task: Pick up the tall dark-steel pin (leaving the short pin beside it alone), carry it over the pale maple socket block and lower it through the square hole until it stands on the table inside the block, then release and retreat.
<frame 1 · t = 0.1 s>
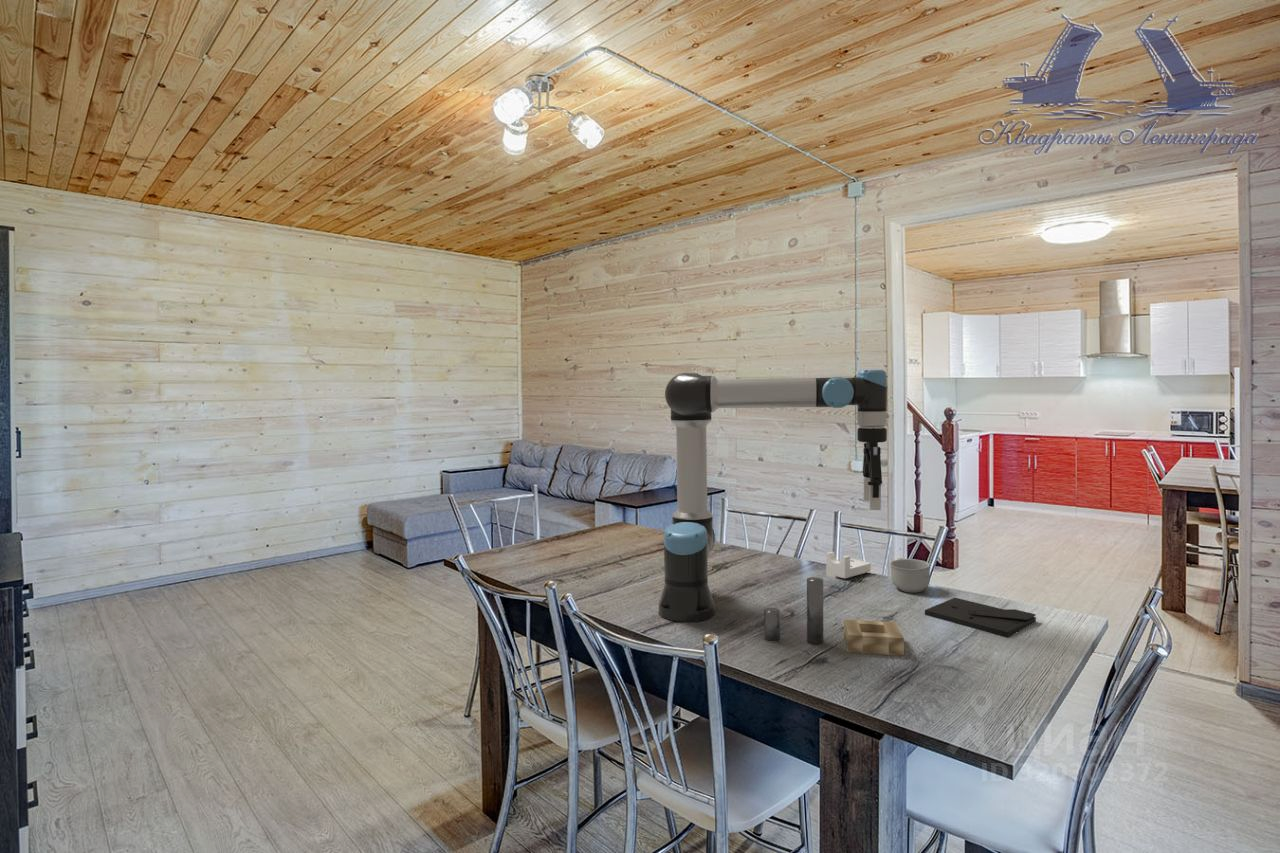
hand: (871, 505, 179), 28 cm above the table, fingers open, 13 cm apart
bracket: (848, 575, 211), on the table
picture frame: (979, 622, 170), on the table
long pin: (815, 641, 157), on the table
teacup: (908, 588, 196), on the table
short pin: (772, 638, 159), on the table
socket block: (872, 645, 154), on the table
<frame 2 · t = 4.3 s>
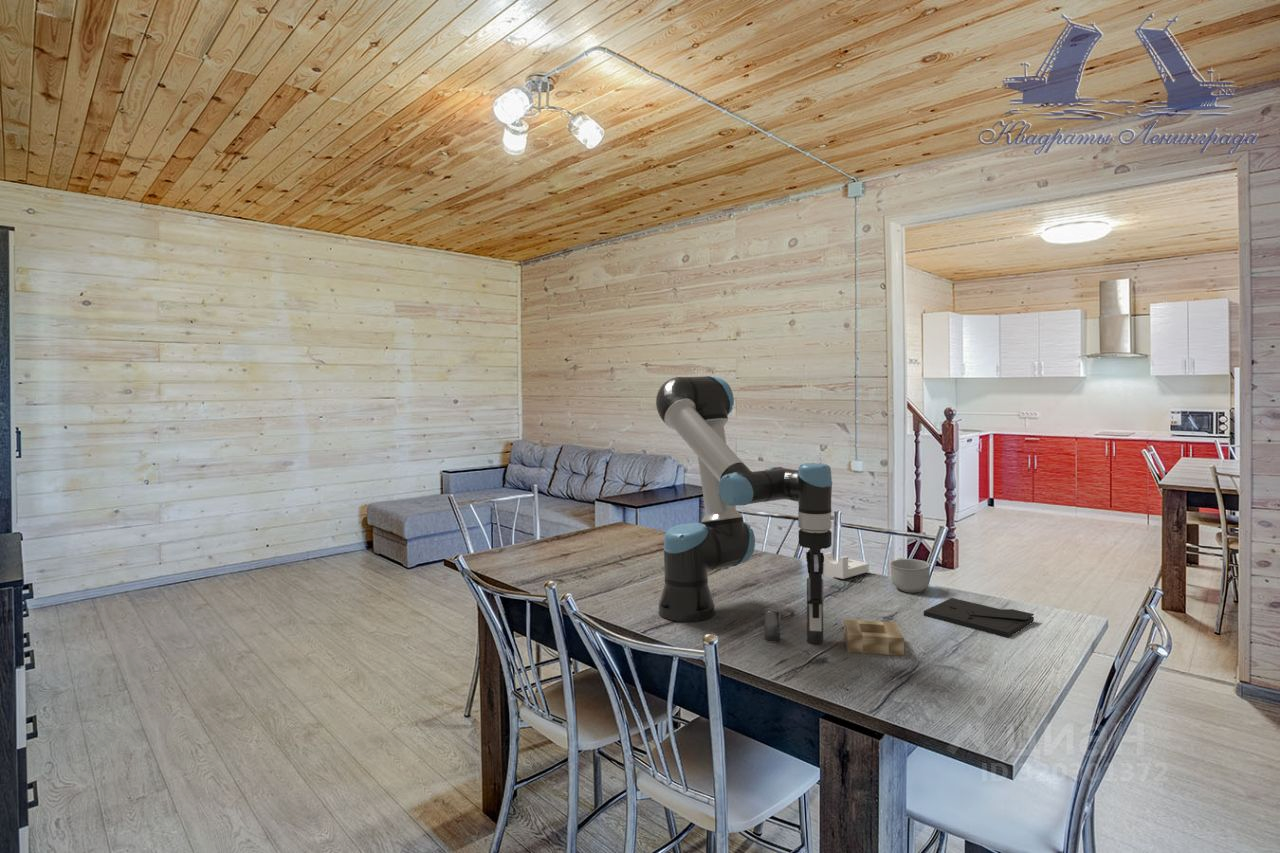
hand: (815, 626, 157), 4 cm above the table, fingers closed on long pin, 4 cm apart
long pin: (815, 641, 157), on the table, touching gripper
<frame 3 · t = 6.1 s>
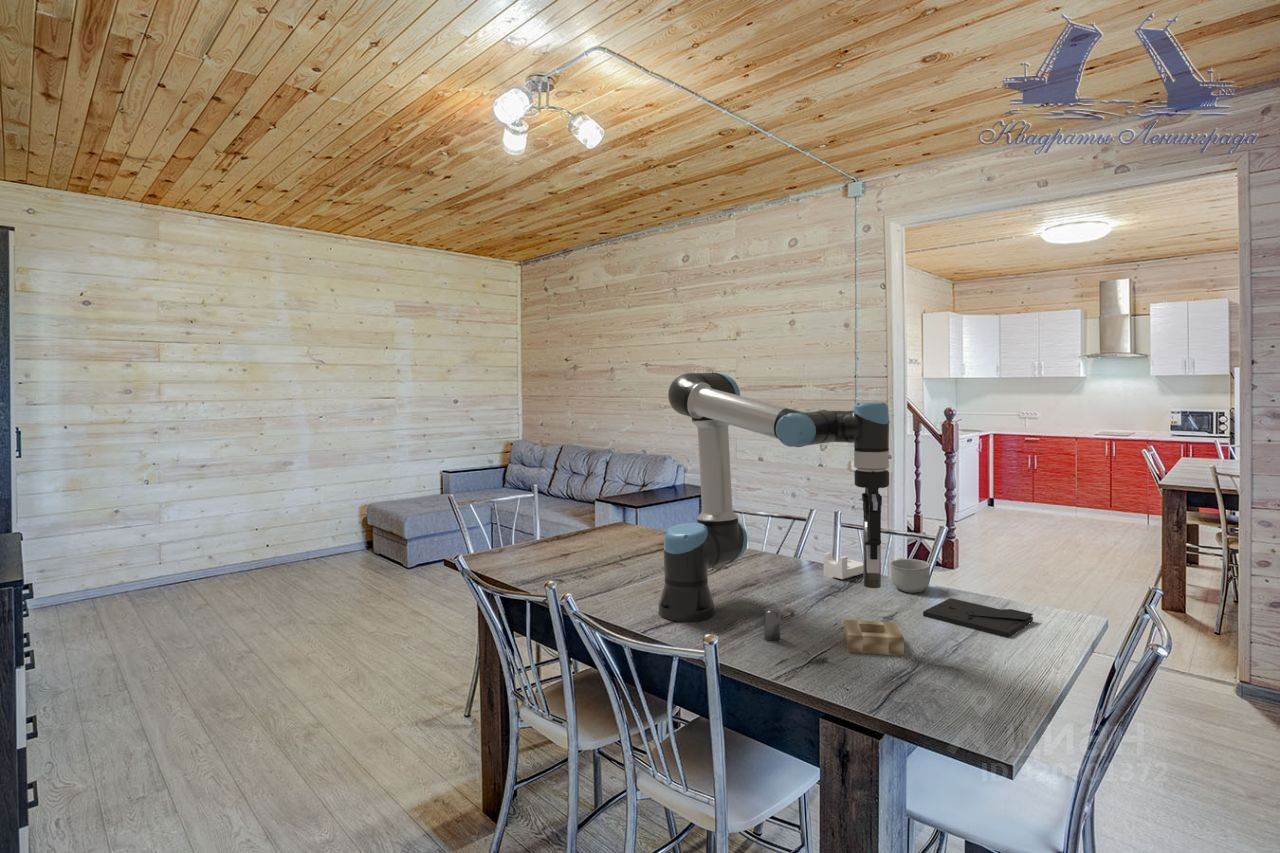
hand: (872, 569, 153), 18 cm above the table, fingers closed on long pin, 4 cm apart
long pin: (872, 585, 153), point 14 cm above the table, touching gripper
when the fingers open (5 cm above the table, at t = 8.1 s): long pin drops 1 cm, resting in socket block.
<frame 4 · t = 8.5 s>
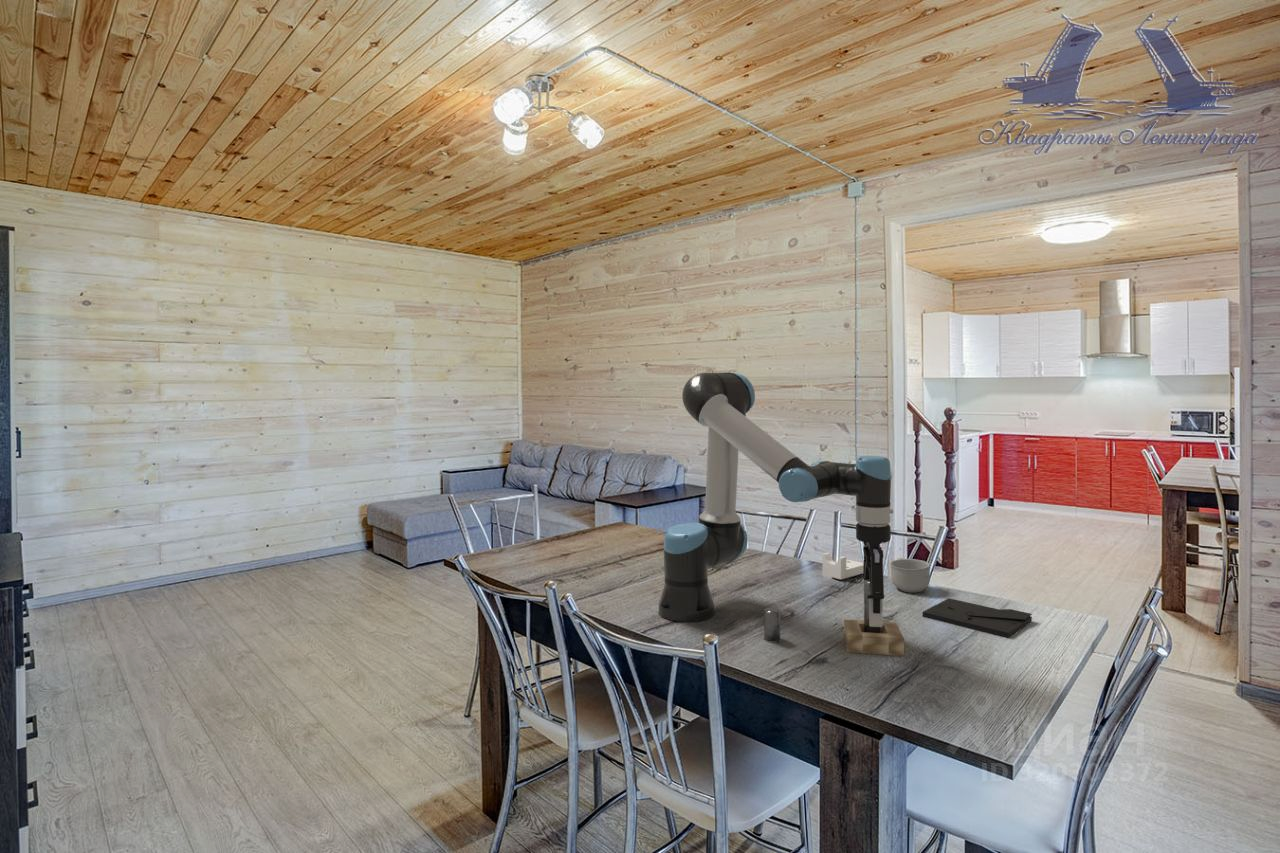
hand: (872, 618, 154), 6 cm above the table, fingers open, 10 cm apart
long pin: (872, 645, 154), resting in socket block
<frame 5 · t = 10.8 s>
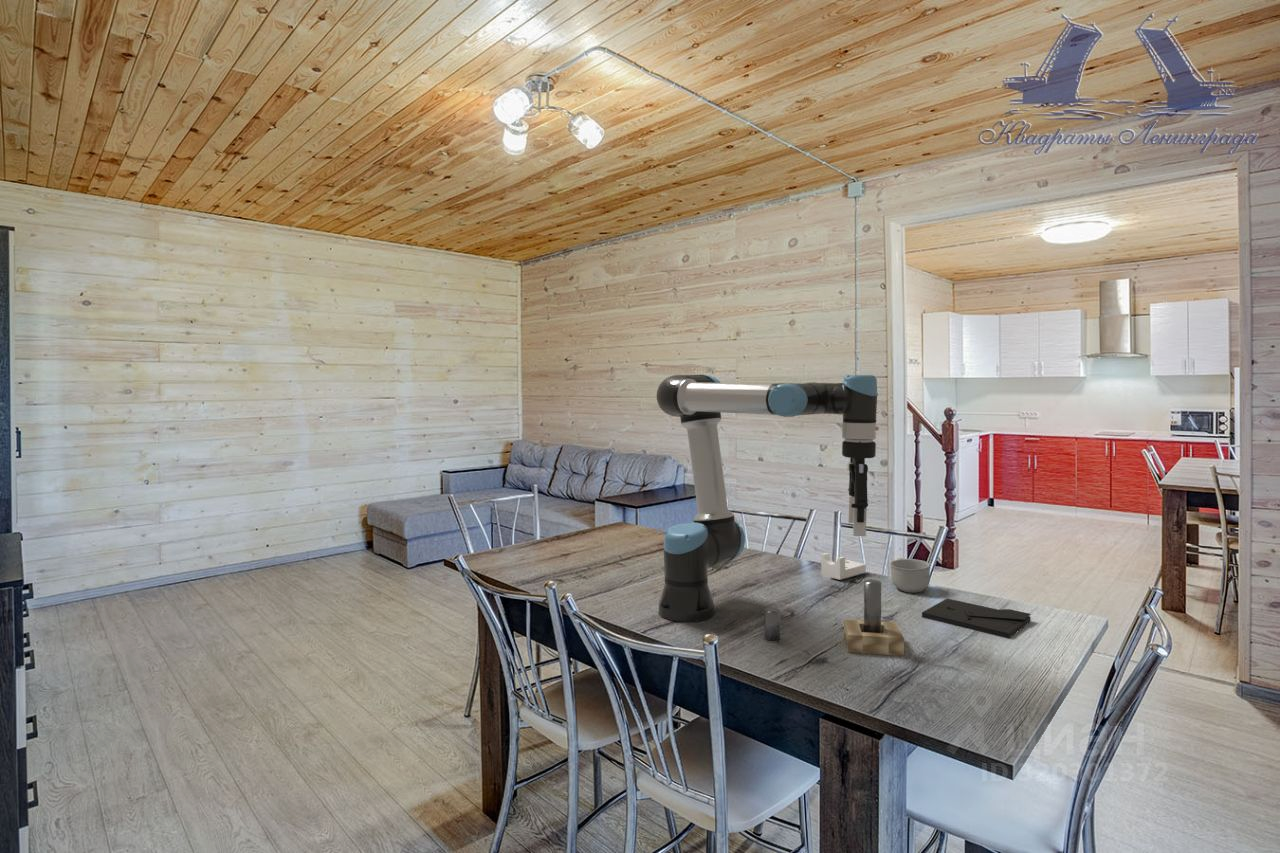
hand: (856, 529, 157), 26 cm above the table, fingers open, 13 cm apart
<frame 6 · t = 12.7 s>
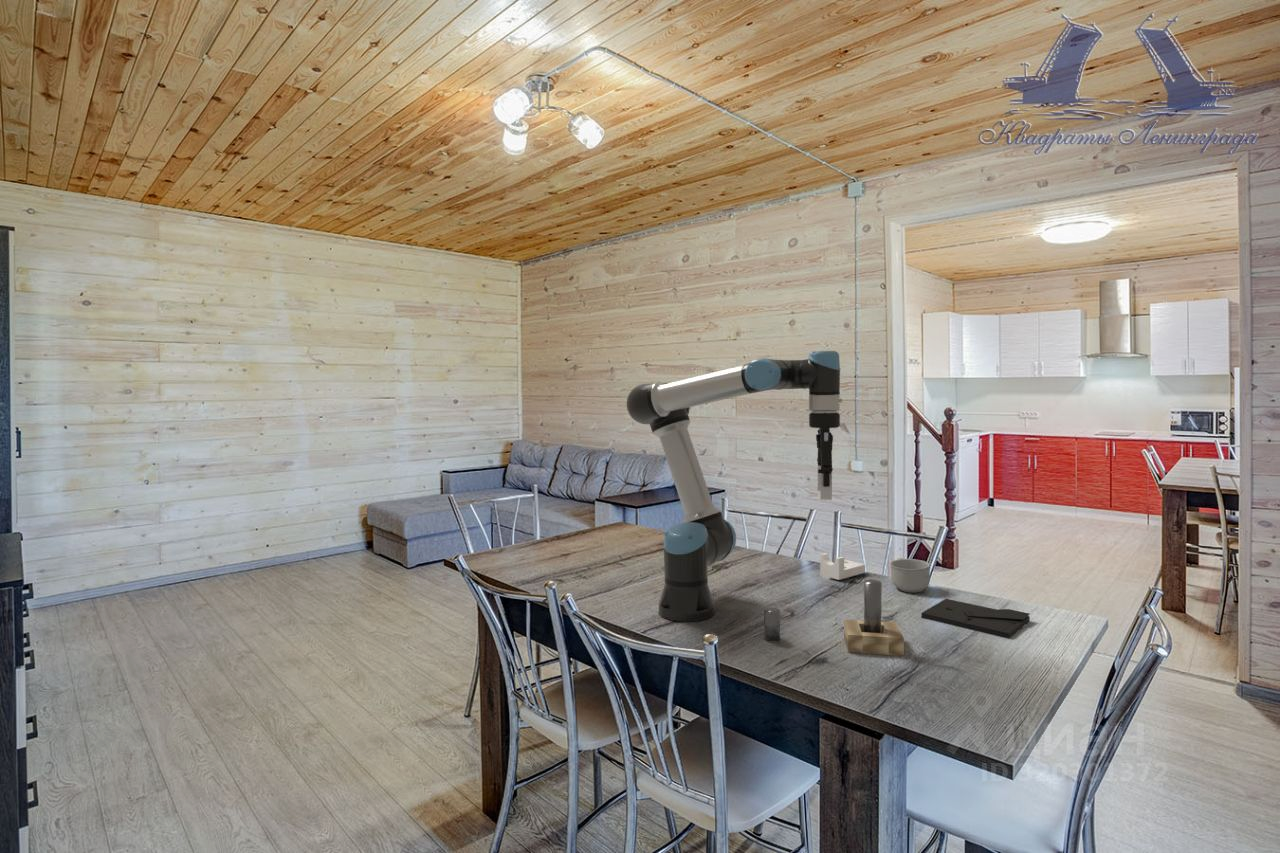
hand: (824, 495, 169), 33 cm above the table, fingers open, 13 cm apart
at the end: long pin 0.1 cm off-centre on the socket block, point 0.0 cm above the socket block's base; long pin tilted 0°; short pin moved 0.0 cm from its start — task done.
